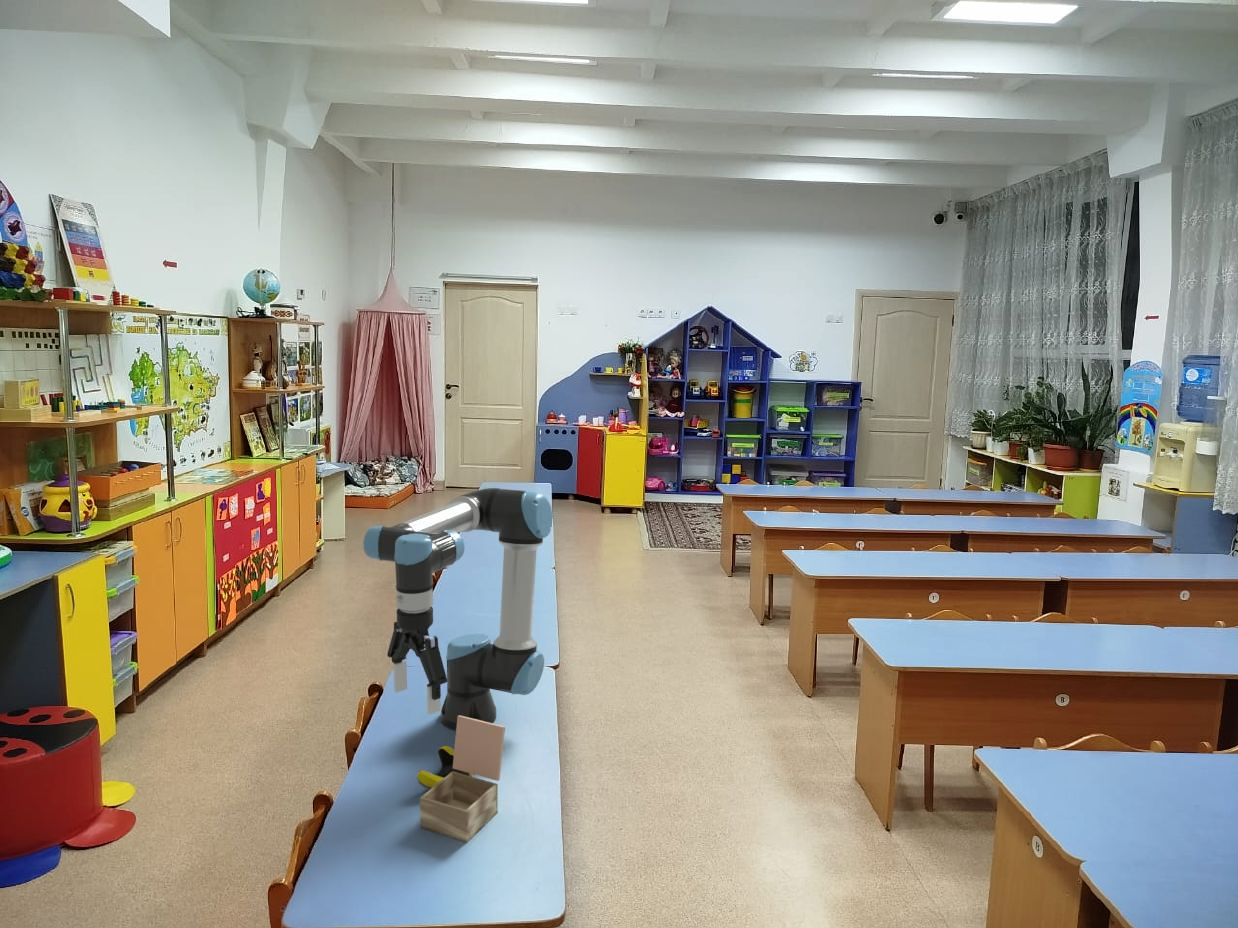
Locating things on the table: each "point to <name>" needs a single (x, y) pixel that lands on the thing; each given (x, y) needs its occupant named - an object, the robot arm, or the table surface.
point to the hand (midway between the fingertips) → (417, 700)
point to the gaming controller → (447, 767)
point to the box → (459, 806)
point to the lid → (478, 747)
